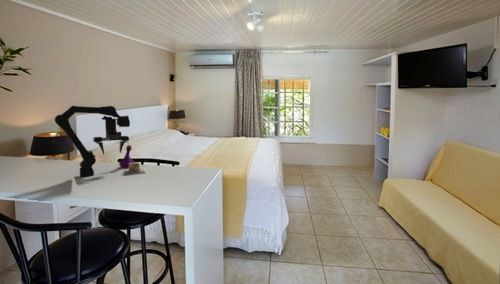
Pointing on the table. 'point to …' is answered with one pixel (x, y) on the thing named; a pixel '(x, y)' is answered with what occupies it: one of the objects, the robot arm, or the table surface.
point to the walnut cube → (134, 167)
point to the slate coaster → (134, 172)
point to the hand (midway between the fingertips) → (112, 153)
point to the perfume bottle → (126, 158)
